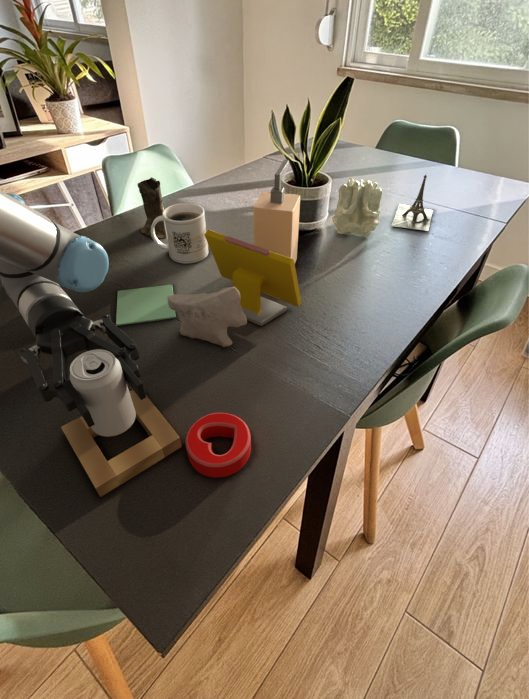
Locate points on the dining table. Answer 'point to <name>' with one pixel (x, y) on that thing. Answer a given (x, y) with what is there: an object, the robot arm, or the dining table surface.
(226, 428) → the decorative ornament
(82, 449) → the can stand
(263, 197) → the soap dispenser
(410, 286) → the dining table surface
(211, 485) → the dining table surface
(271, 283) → the yellow framed monitor
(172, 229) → the mug
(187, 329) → the sculpture
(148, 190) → the tree stump
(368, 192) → the wavy plaster lump
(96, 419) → the beverage can
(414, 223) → the eiffel tower figurine
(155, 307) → the mat
